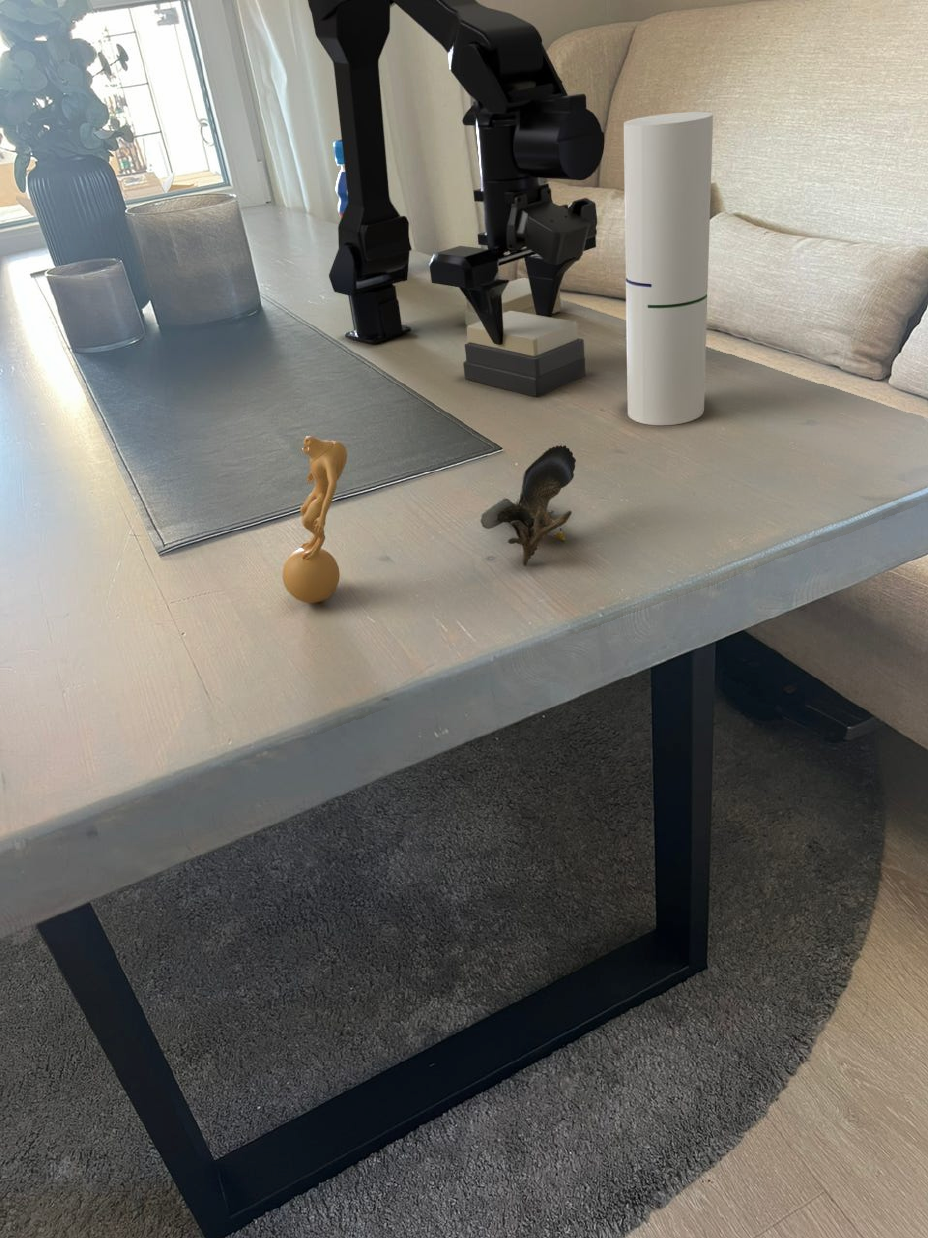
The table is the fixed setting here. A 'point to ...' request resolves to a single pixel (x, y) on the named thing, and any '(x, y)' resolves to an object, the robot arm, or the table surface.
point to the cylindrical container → (667, 264)
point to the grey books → (525, 367)
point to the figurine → (316, 526)
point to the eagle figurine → (535, 501)
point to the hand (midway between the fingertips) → (521, 335)
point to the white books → (513, 301)
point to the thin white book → (527, 333)
